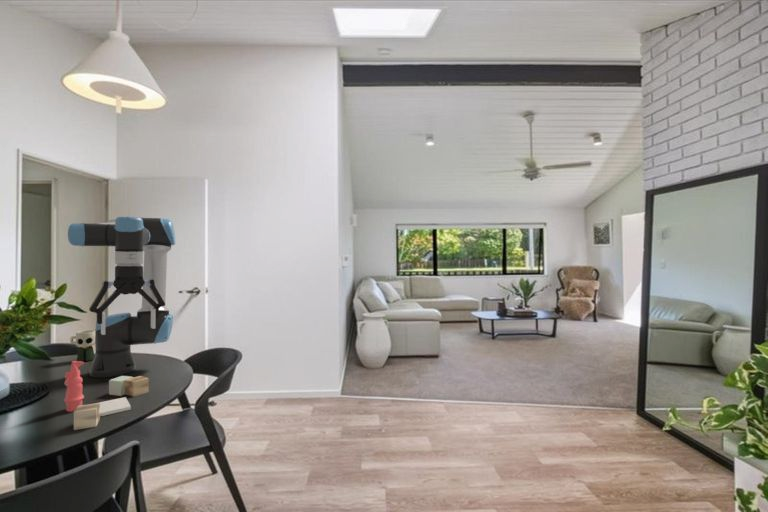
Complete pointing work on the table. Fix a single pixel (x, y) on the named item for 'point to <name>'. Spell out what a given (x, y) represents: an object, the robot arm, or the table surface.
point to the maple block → (86, 416)
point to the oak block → (136, 386)
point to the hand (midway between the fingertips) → (129, 331)
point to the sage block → (118, 385)
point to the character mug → (84, 344)
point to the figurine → (73, 387)
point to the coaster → (114, 406)
